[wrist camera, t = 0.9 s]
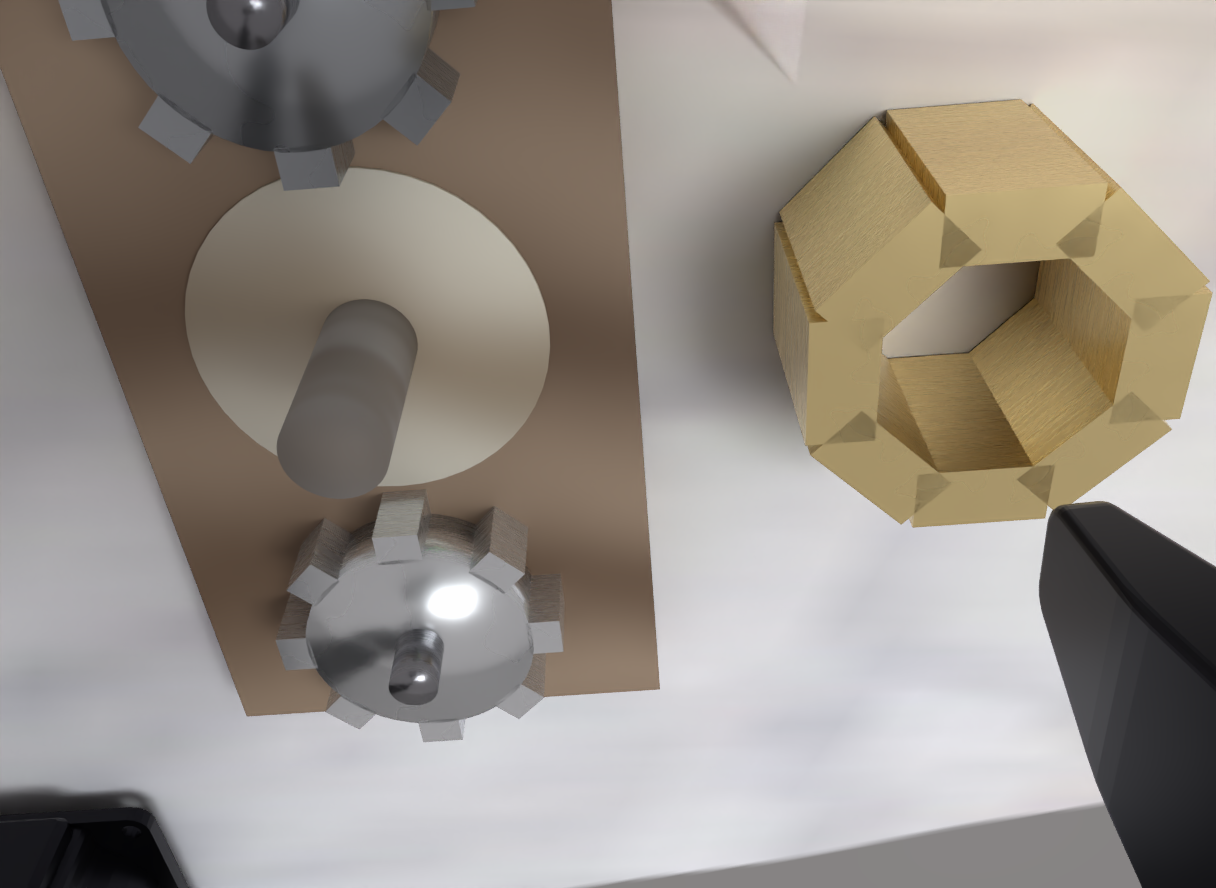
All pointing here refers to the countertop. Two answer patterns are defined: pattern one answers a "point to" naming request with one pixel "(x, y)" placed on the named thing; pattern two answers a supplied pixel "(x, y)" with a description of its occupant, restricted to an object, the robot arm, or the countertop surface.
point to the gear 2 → (422, 617)
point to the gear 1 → (279, 73)
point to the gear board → (484, 150)
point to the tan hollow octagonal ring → (1013, 354)
